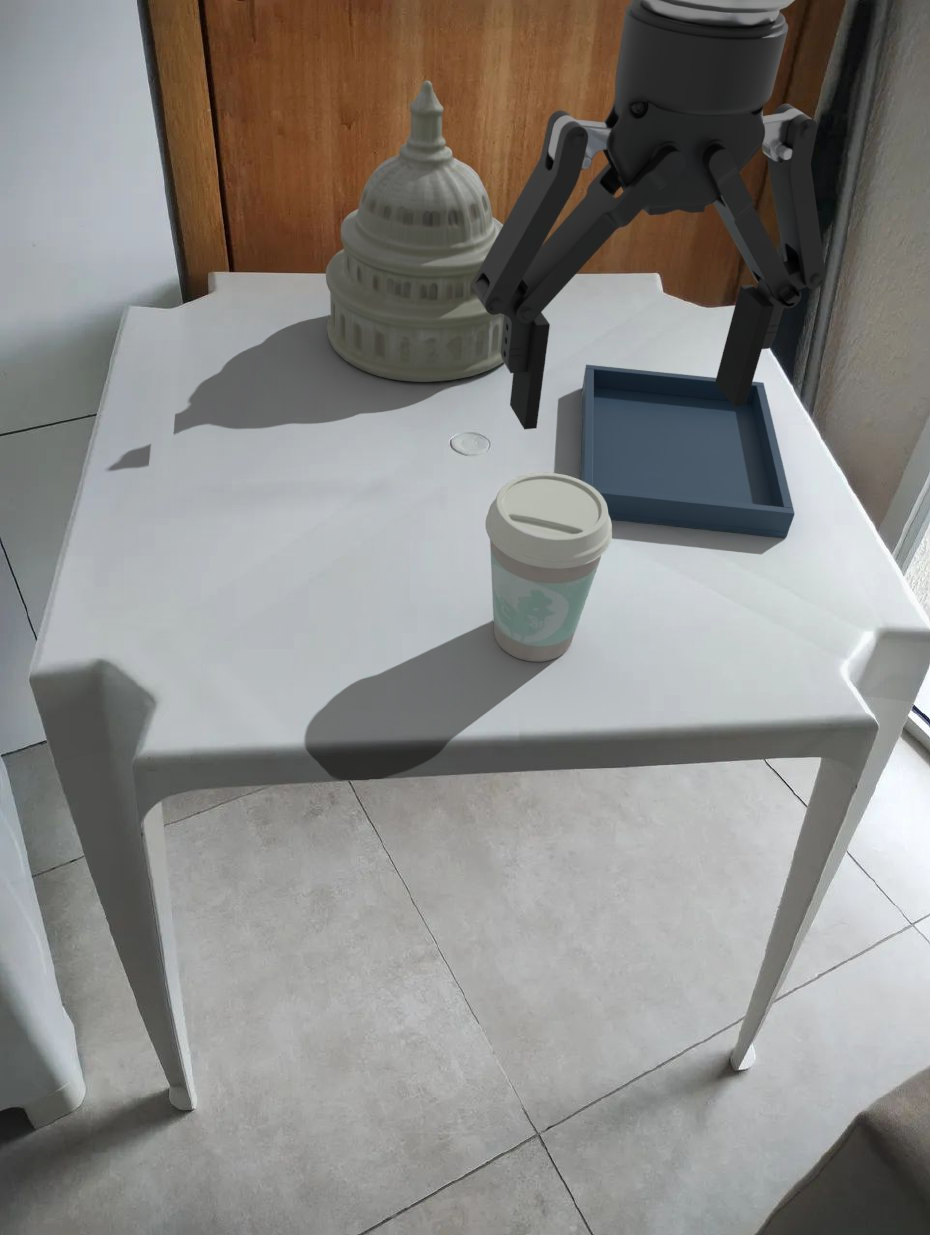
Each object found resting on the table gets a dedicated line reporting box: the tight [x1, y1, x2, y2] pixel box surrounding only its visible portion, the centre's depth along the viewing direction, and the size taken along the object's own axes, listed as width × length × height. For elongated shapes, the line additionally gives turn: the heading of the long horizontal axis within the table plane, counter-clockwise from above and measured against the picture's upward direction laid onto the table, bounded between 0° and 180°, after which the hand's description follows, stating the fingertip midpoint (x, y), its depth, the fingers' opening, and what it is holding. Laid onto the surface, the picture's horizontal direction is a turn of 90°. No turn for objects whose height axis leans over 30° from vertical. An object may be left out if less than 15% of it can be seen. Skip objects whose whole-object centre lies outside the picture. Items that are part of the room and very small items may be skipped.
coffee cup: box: [485, 472, 613, 663], centre depth 70 cm, size 9×8×12 cm
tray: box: [579, 364, 795, 539], centre depth 92 cm, size 22×18×3 cm
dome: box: [325, 80, 504, 383], centre depth 98 cm, size 20×25×20 cm
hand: (629, 405), depth 61 cm, fingers open, 13 cm apart
